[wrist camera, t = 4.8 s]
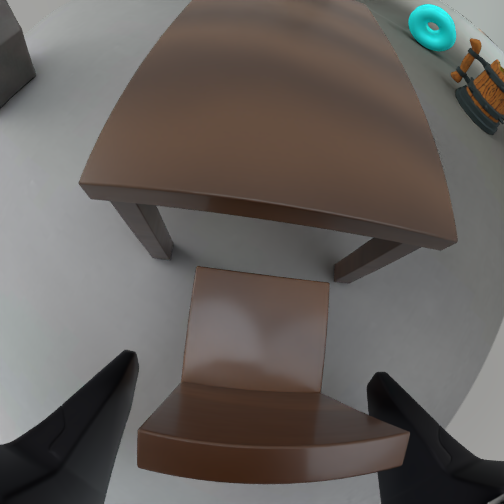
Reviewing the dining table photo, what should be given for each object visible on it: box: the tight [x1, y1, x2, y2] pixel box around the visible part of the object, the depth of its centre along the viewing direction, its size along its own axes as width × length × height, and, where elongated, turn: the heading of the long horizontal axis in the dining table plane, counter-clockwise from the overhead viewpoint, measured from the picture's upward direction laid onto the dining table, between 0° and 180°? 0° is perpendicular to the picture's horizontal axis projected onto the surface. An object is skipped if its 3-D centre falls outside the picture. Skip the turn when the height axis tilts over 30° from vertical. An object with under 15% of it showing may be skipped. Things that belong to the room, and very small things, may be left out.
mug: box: [451, 39, 504, 135], centre depth 24 cm, size 13×10×12 cm
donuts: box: [408, 4, 456, 51], centre depth 31 cm, size 10×10×10 cm
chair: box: [137, 266, 410, 484], centre depth 11 cm, size 6×6×12 cm
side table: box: [79, 0, 458, 283], centre depth 17 cm, size 24×14×10 cm, turn 174°
